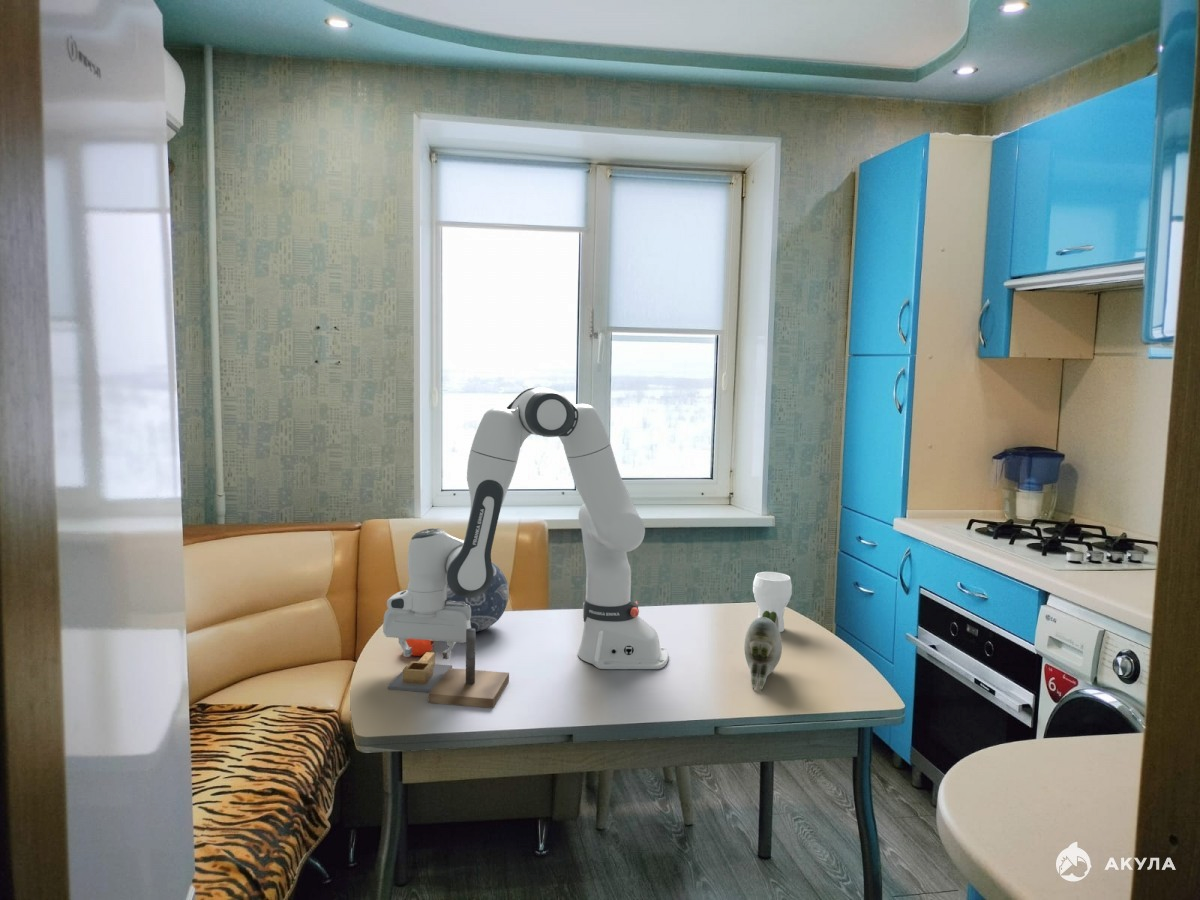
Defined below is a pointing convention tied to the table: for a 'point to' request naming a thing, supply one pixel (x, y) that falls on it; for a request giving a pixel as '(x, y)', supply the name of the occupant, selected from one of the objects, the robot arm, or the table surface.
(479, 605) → the decorative ball
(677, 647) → the table surface
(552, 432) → the robot arm
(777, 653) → the toy
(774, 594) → the cup
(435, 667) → the mat
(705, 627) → the table surface
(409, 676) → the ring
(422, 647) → the pumpkin
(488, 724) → the table surface
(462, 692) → the stand
